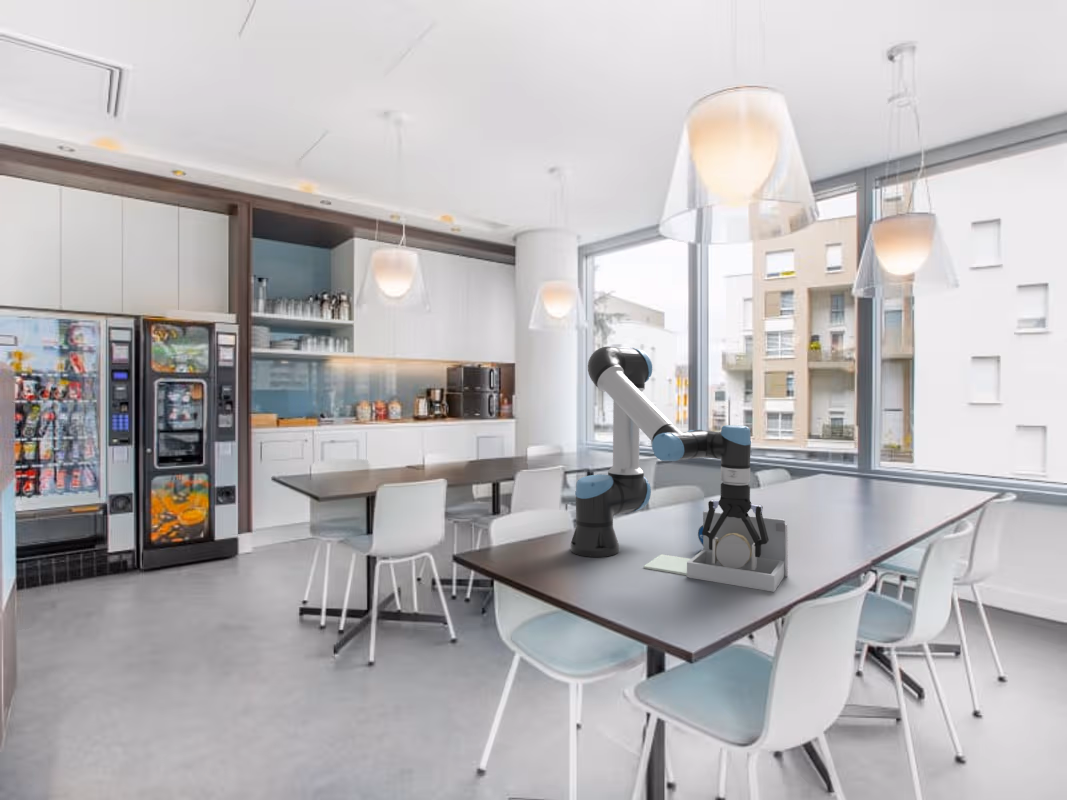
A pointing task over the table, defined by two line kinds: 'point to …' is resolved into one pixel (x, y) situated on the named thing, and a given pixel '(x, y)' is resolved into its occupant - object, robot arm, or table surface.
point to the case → (768, 564)
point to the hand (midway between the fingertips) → (734, 565)
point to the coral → (733, 551)
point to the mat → (669, 564)
